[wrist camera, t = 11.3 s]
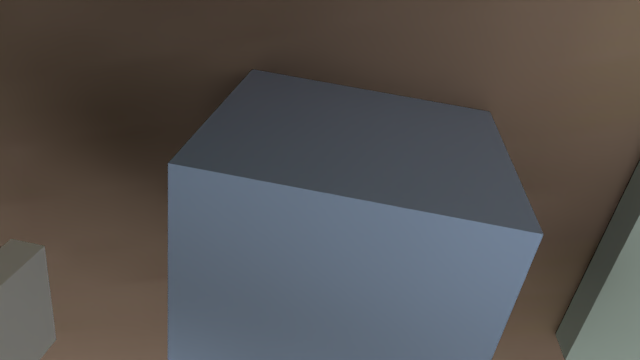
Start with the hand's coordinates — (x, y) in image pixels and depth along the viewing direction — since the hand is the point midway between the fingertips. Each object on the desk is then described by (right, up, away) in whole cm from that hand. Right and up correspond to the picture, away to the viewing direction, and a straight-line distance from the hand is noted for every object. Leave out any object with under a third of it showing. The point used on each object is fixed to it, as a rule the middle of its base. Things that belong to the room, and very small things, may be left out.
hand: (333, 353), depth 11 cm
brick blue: (+1, +3, +6) cm, 7 cm away
